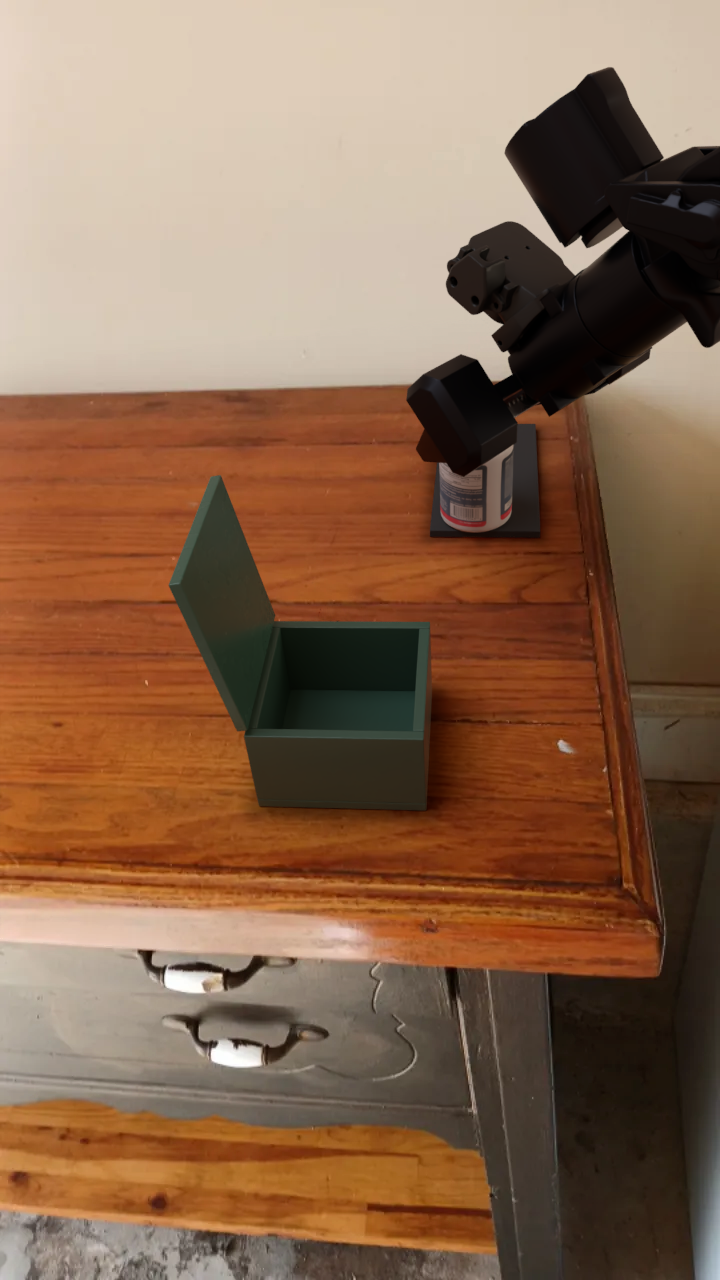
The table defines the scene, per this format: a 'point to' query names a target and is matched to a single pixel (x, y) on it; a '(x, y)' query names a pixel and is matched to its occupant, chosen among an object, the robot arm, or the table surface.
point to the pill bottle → (478, 495)
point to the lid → (224, 602)
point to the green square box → (343, 716)
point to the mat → (523, 495)
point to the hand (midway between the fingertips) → (465, 428)
